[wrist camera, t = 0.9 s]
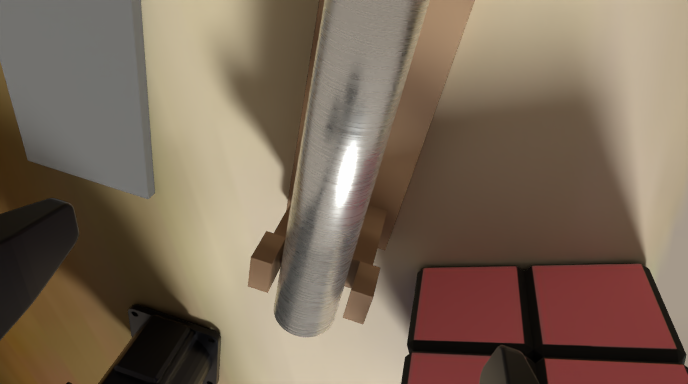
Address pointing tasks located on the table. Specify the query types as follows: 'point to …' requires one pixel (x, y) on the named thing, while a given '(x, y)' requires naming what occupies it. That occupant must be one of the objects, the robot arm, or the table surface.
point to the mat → (80, 88)
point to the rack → (398, 160)
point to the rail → (342, 150)
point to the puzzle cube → (543, 325)
